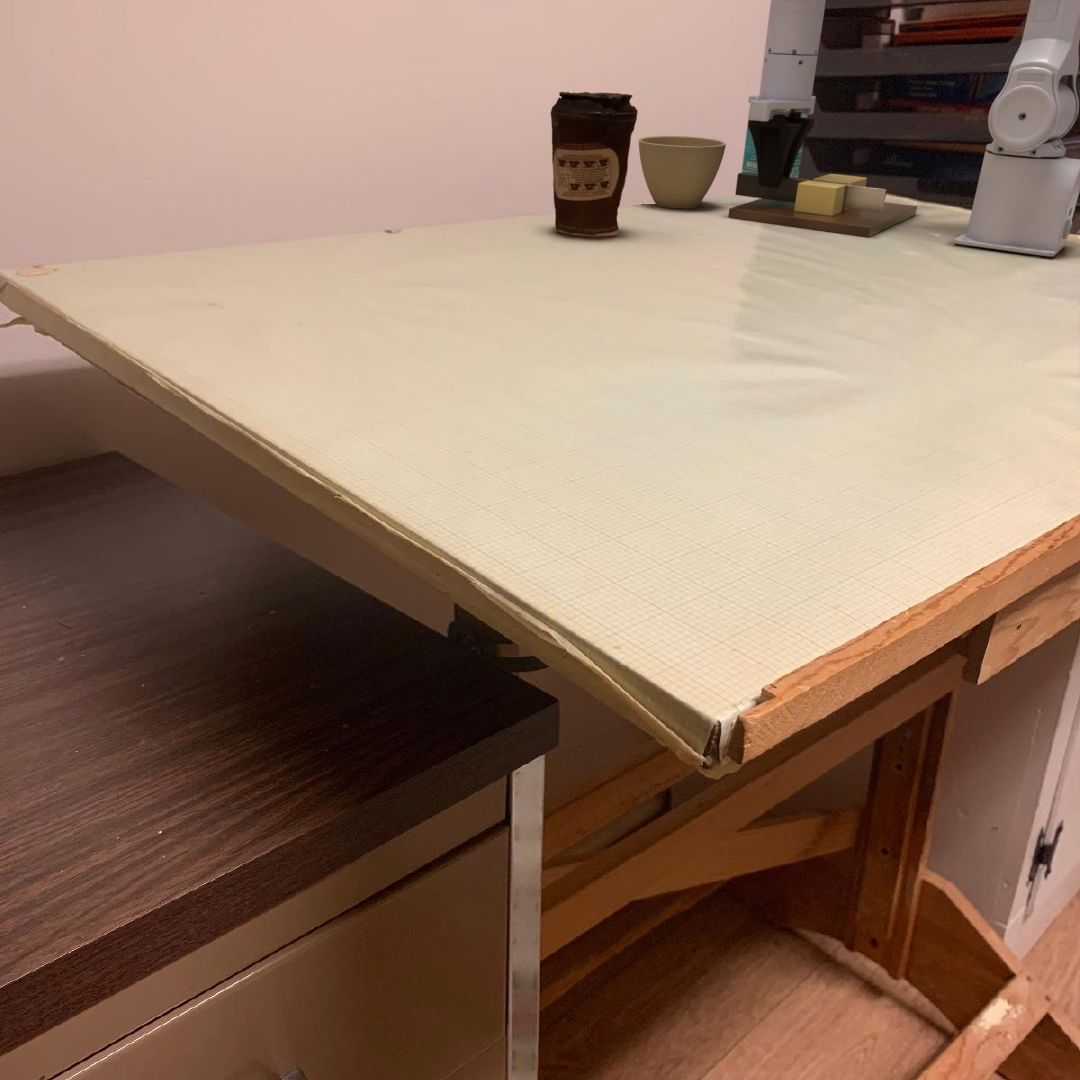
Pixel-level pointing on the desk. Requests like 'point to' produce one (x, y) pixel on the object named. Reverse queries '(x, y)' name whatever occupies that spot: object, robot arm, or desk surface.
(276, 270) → the desk surface
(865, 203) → the knife
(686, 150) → the tan bowl
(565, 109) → the coffee cup
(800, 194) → the butter slice
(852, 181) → the butter block
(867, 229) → the butter board
